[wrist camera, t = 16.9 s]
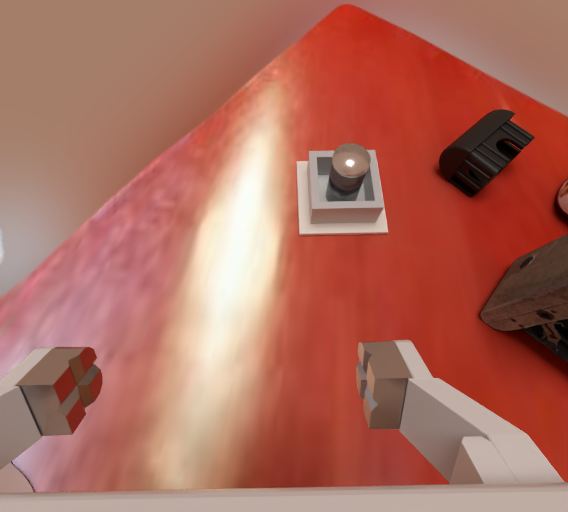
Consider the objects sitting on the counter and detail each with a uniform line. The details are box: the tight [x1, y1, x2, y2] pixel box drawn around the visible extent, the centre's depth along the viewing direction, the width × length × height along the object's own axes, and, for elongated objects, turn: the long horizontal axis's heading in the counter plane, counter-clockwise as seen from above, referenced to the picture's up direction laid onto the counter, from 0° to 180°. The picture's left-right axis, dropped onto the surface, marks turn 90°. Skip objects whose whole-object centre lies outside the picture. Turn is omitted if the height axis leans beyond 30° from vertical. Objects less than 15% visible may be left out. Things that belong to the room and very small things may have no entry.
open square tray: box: [297, 150, 388, 236], centre depth 44 cm, size 12×12×5 cm
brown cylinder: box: [326, 143, 371, 202], centre depth 42 cm, size 4×4×8 cm
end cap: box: [439, 109, 535, 197], centre depth 45 cm, size 10×7×7 cm
